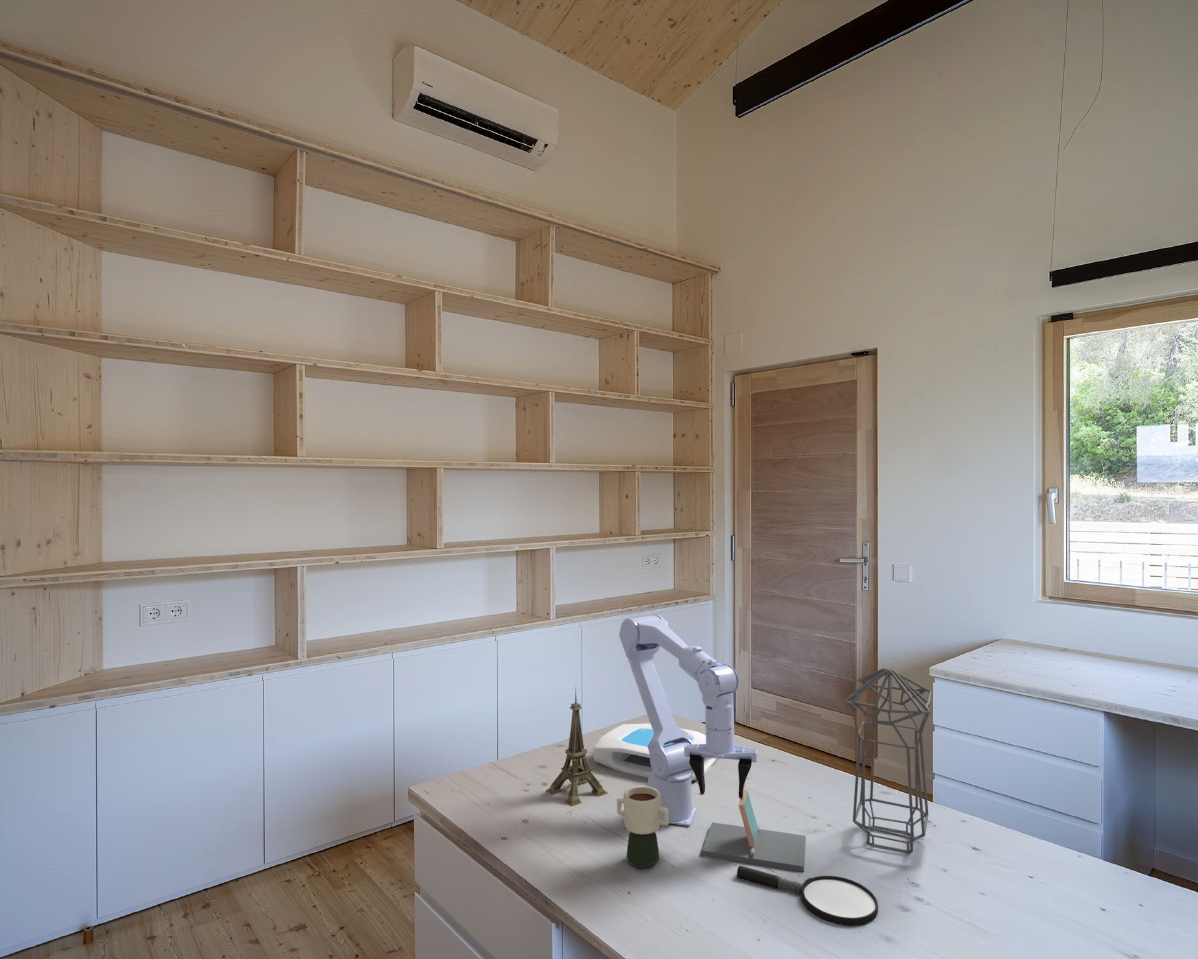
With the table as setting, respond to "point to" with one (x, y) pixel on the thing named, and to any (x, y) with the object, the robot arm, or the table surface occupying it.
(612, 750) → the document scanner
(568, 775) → the eiffel tower
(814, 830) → the table surface
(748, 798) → the tile
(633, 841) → the character mug
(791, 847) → the mat
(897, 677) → the geometric lantern
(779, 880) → the magnifying glass
